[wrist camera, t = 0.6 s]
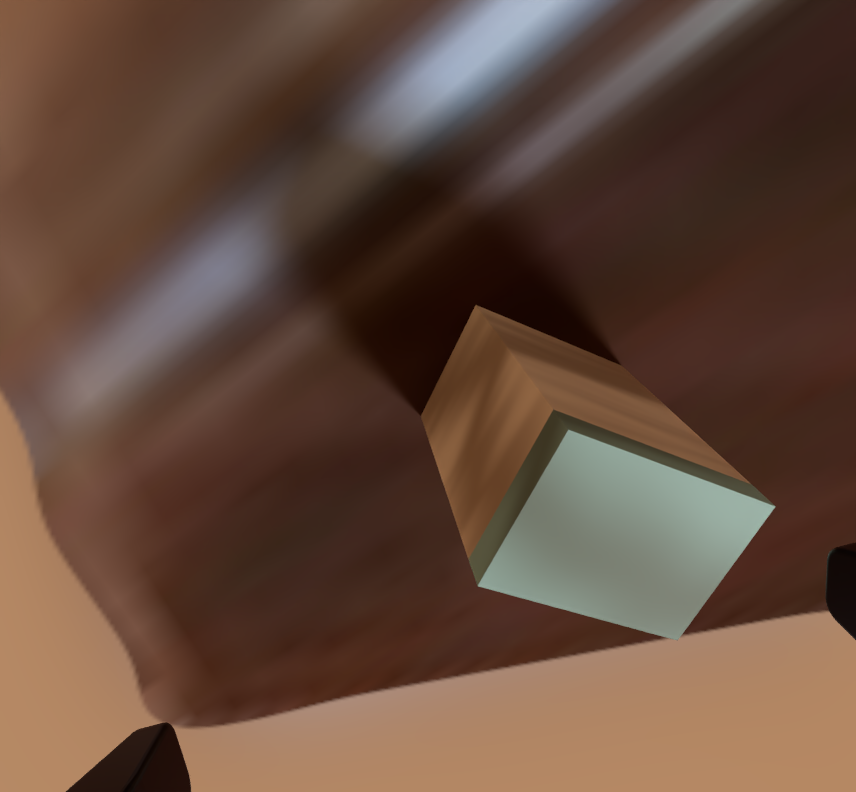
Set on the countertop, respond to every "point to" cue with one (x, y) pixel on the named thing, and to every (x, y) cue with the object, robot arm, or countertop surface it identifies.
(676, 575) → the birch block
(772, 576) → the countertop surface
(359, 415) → the countertop surface
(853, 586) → the robot arm
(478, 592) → the countertop surface
